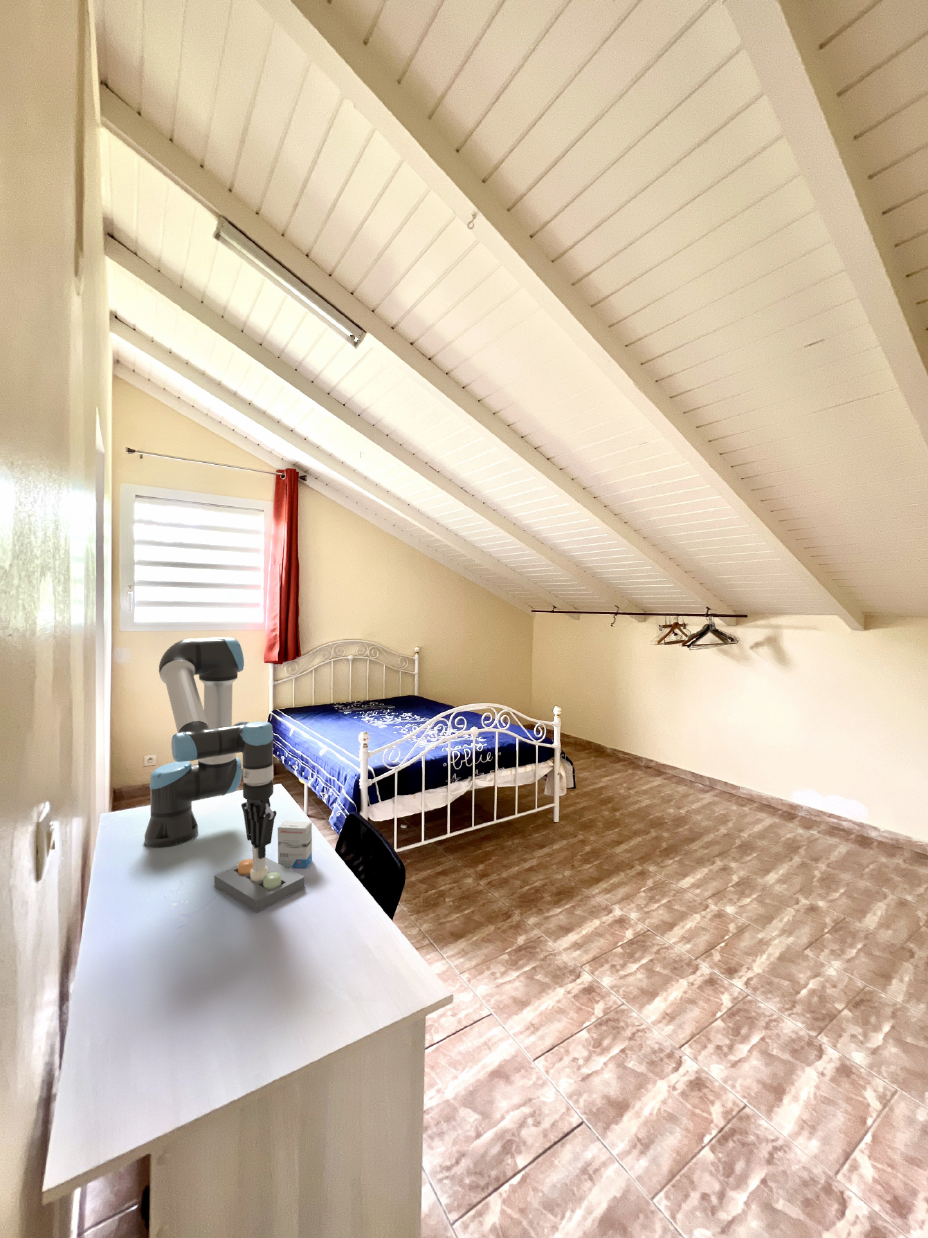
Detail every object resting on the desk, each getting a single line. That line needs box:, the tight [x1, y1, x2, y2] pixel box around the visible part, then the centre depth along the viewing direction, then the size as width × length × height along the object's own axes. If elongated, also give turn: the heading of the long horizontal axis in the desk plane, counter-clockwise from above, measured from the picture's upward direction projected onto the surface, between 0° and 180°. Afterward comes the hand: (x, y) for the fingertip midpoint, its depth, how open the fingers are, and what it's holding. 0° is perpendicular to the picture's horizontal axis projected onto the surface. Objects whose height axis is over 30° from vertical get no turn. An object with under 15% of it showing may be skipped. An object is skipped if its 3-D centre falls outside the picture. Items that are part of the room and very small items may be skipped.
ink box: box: [277, 820, 313, 869], centre depth 152 cm, size 8×5×12 cm, turn 84°
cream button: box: [250, 866, 268, 883], centre depth 140 cm, size 4×4×4 cm
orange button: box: [237, 858, 253, 876], centre depth 143 cm, size 4×4×4 cm
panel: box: [213, 856, 306, 914], centre depth 140 cm, size 20×14×3 cm
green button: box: [263, 872, 281, 891], centre depth 136 cm, size 4×4×4 cm
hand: (259, 868), depth 140 cm, fingers closed
